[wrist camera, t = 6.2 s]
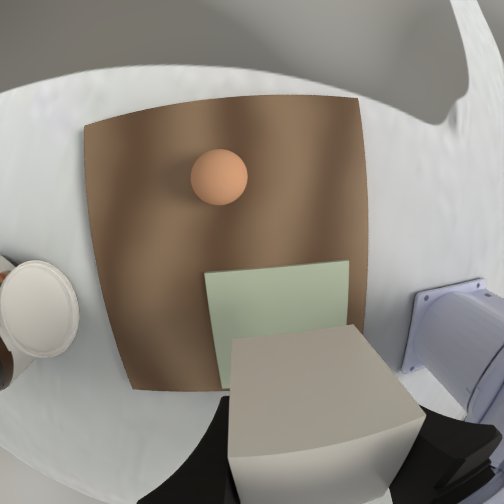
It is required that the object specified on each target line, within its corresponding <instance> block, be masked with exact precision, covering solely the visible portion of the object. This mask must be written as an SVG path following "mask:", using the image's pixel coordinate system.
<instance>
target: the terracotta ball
mask: <svg viewBox="0 0 504 504" xmlns="http://www.w3.org/2000/svg"><path fill="white" fill-rule="evenodd" d="M247 179H248V174H247V169H246V166H245V164H244V162H243V161H242V160H241V158H240V157H239V156H238V155H236V154H235V153H233V152H231V151H228V150H224V149H215V150H211V151H208V152H206V153H204V154H203V155H201V156H200V157H199V158H198V159H197V161H196V162H195V164H194V165H193V168H192V171H191V185H192V188H193V190H194V192H195V193H196V195H197V196H198V197H199V198H200V199H201V200H203V201H204V202H206V203H209V204H212V205H226V204H229V203H231V202H233V201H235V200H236V199H237V198H239V197H240V195H241V194H242V193H243V191H244V190H245V187H246V184H247Z"/></svg>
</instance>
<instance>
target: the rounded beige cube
mask: <svg viewBox="0 0 504 504" xmlns="http://www.w3.org/2000/svg"><path fill="white" fill-rule="evenodd" d="M425 417H426V414H425V413H424V411H423V410H422V409H421V407H420V406H419V405H418V404H417V402H416V401H415V400H414V398H413V397H412V396H411V395H410V393H409V392H408V391H407V389H406V388H405V387H404V386H403V384H402V383H401V382H400V381H399V379H398V378H397V377H396V376H395V374H394V373H393V372H392V371H391V369H390V368H389V367H388V366H387V364H386V363H385V362H384V361H383V360H382V358H381V357H380V356H379V355H378V353H377V352H376V351H375V350H374V349H373V347H372V346H371V345H370V344H369V342H368V341H367V340H366V339H365V338H364V336H363V335H362V334H361V333H360V332H359V330H358V329H357V328H356V327H355V326H354V324H352V325H346V326H340V327H334V328H327V329H320V330H313V331H306V332H298V333H289V334H280V335H271V336H261V337H249V338H236V339H232V352H231V375H230V401H229V430H228V460H229V464H230V468H231V471H232V475H233V478H234V482H235V485H236V488H237V492H238V495H239V498H240V502H241V504H361V503H365V502H368V501H371V500H374V499H377V498H380V497H382V496H383V495H384V494H385V492H386V491H387V489H388V487H389V486H390V484H391V483H392V481H393V479H394V478H395V476H396V474H397V473H398V471H399V469H400V468H401V466H402V464H403V462H404V461H405V459H406V457H407V455H408V453H409V451H410V449H411V447H412V445H413V443H414V441H415V439H416V437H417V435H418V433H419V431H420V429H421V426H422V424H423V422H424V420H425Z"/></svg>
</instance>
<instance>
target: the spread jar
mask: <svg viewBox="0 0 504 504" xmlns="http://www.w3.org/2000/svg"><path fill="white" fill-rule="evenodd" d="M78 326H79V306H78V300H77V297H76V294H75V291H74V289H73V287H72V285H71V283H70V282H69V280H68V279H67V277H66V276H65V275H64V274H63V273H62V272H61V271H60V270H59V269H58V268H56V267H55V266H53V265H51V264H50V263H47V262H44V261H39V260H32V261H26V262H24V263H22V264H20V265H18V264H17V263H15V262H14V261H13V260H11V259H9V258H7V257H5V256H3V255H1V254H0V391H1V390H3V389H5V388H7V387H8V386H9V385H10V384H11V383H13V382H14V381H15V380H16V379H17V378H18V377H19V376H20V375H21V374H22V373H23V372H24V371H25V370H26V369H27V368H28V366H29V365H30V364H31V363H32V362H33V361H34V359H35V358H36V357H41V358H50V357H55V356H57V355H59V354H61V353H63V352H64V351H65V350H67V349H68V347H69V346H70V345H71V344H72V342H73V340H74V338H75V336H76V334H77V330H78Z"/></svg>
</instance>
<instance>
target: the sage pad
mask: <svg viewBox="0 0 504 504" xmlns="http://www.w3.org/2000/svg"><path fill="white" fill-rule="evenodd" d="M204 275H205V283H206V290H207V297H208V305H209V312H210V318H211V325H212V331H213V338H214V344H215V350H216V356H217V362H218V368H219V373H220V379H221V384H222V389H225V388H230V375H231V352H232V339H236V338H249V337H261V336H271V335H280V334H289V333H298V332H306V331H313V330H320V329H327V328H334V327H340V326H346V323H347V308H348V287H349V260H338V261H327V262H317V263H306V264H295V265H284V266H273V267H261V268H249V269H237V270H225V271H212V272H205V273H204Z"/></svg>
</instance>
